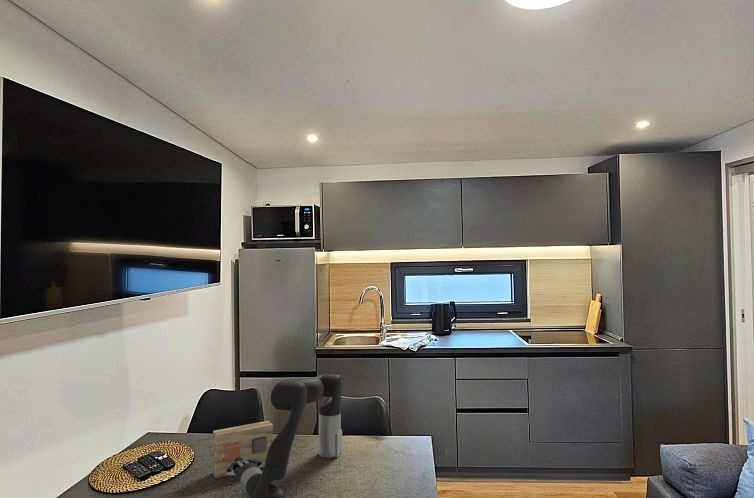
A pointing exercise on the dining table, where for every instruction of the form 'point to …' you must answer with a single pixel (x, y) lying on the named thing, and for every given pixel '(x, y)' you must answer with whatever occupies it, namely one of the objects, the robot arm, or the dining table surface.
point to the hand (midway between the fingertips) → (237, 459)
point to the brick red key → (231, 452)
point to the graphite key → (259, 445)
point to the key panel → (244, 439)
